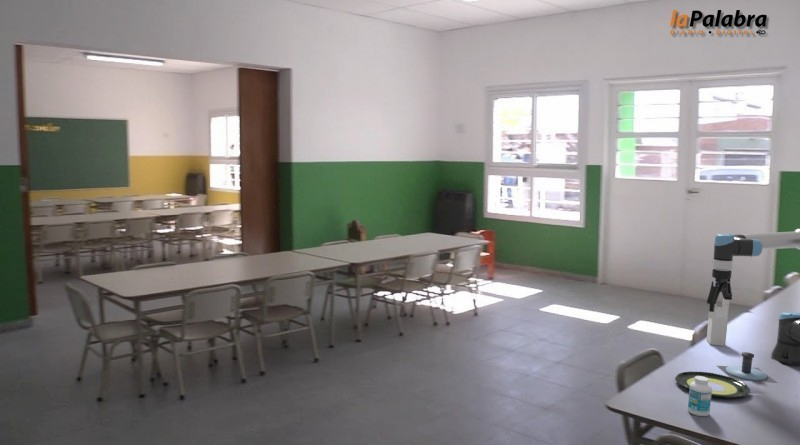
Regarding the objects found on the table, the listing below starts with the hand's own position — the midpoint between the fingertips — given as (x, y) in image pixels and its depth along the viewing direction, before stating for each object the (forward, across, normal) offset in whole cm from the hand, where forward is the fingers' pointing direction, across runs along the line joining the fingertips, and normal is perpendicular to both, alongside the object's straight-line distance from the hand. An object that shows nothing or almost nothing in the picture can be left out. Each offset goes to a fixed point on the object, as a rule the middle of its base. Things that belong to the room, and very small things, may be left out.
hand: (718, 316), depth 284 cm
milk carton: (+25, -40, -16) cm, 49 cm away
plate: (+25, +25, +10) cm, 36 cm away
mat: (+24, -3, +12) cm, 27 cm away
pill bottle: (+24, +55, +18) cm, 63 cm away
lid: (+24, -3, +12) cm, 27 cm away
